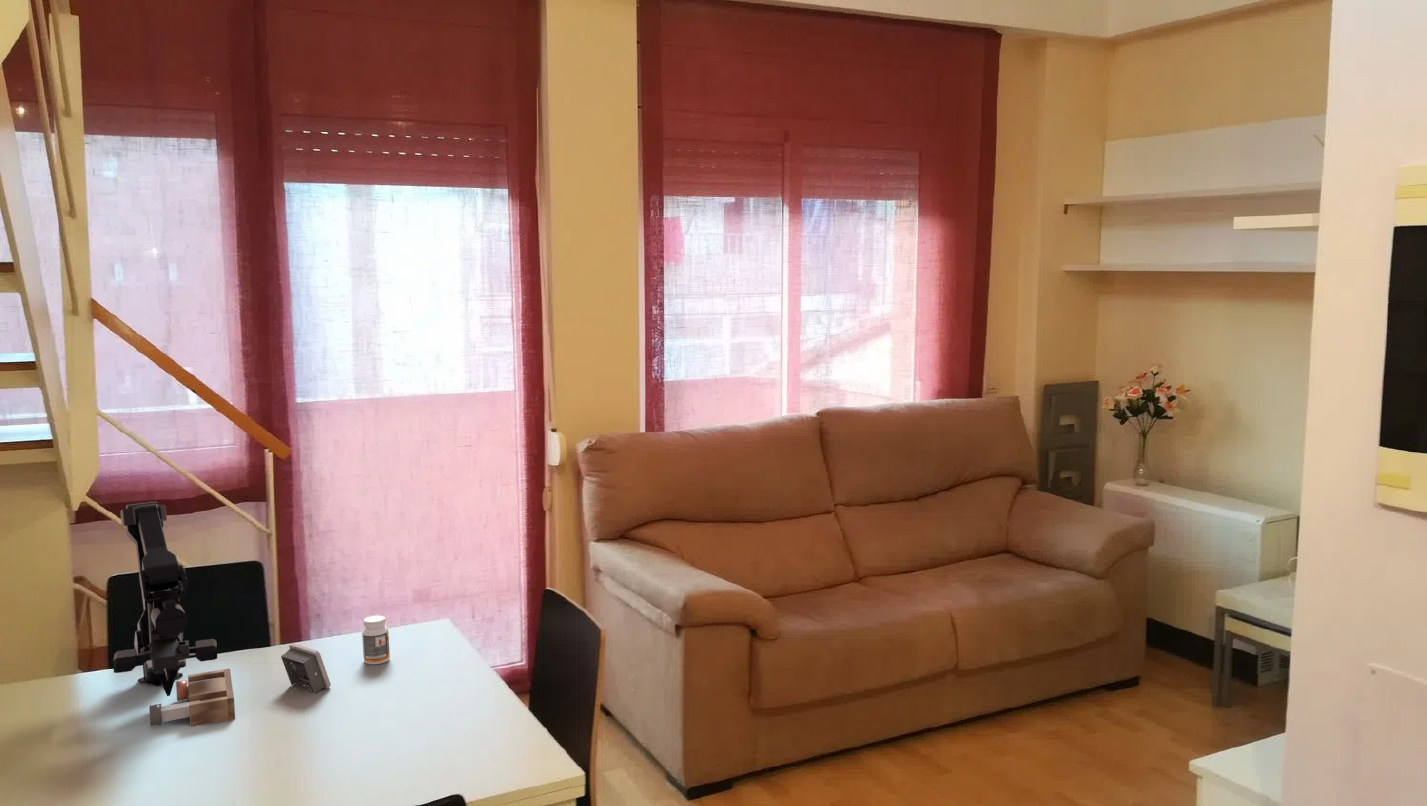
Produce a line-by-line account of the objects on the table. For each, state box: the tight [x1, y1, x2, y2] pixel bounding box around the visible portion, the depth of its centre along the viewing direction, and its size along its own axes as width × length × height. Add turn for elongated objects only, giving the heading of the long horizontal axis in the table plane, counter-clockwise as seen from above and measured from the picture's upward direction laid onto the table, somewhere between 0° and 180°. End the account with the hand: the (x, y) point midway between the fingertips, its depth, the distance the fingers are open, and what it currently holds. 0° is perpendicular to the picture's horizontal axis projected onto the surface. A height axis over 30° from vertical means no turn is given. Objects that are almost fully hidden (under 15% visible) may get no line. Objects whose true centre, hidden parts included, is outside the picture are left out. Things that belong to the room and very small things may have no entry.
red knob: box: [175, 677, 222, 702], centre depth 221 cm, size 9×4×4 cm, turn 117°
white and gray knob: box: [148, 700, 200, 728], centre depth 209 cm, size 9×4×4 cm, turn 117°
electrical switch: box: [280, 643, 332, 694], centre depth 225 cm, size 9×5×9 cm, turn 57°
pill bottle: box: [361, 615, 391, 666], centre depth 241 cm, size 6×6×10 cm
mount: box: [187, 667, 236, 727], centre depth 217 cm, size 8×17×4 cm, turn 27°
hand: (168, 695), depth 218 cm, fingers closed
